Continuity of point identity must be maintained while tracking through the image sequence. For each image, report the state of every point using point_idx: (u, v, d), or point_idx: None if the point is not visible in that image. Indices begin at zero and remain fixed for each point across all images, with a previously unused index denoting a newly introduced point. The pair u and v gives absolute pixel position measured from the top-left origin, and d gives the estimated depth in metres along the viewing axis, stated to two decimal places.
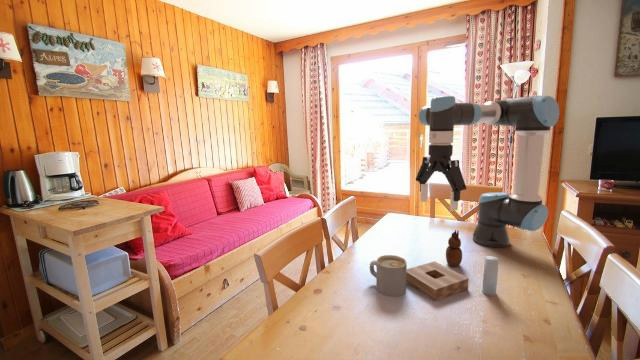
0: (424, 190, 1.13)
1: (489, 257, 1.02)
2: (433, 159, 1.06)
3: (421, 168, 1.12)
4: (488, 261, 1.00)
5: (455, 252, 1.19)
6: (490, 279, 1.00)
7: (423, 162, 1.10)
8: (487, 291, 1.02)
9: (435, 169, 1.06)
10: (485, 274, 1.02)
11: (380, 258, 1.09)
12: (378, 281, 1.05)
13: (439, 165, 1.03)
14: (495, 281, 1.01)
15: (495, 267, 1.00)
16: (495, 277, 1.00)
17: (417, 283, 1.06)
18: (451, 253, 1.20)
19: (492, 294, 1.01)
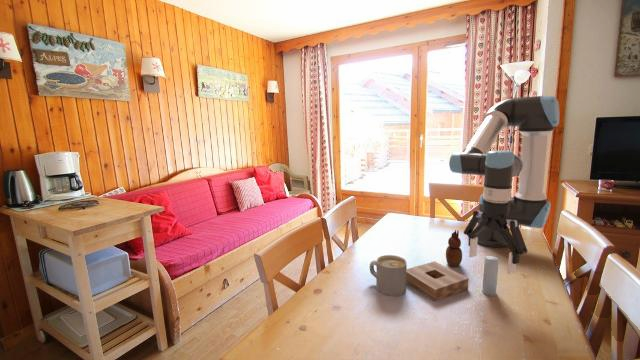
0: (474, 245, 1.06)
1: (489, 257, 1.02)
2: (487, 215, 1.00)
3: (471, 222, 1.05)
4: (488, 261, 1.00)
5: (455, 252, 1.19)
6: (490, 279, 1.00)
7: (474, 216, 1.04)
8: (487, 291, 1.02)
9: (489, 226, 0.99)
10: (485, 274, 1.02)
11: (380, 258, 1.09)
12: (378, 281, 1.05)
13: (495, 223, 0.96)
14: (495, 281, 1.01)
15: (495, 267, 1.00)
16: (495, 277, 1.00)
17: (417, 283, 1.06)
18: (451, 253, 1.20)
19: (492, 294, 1.01)
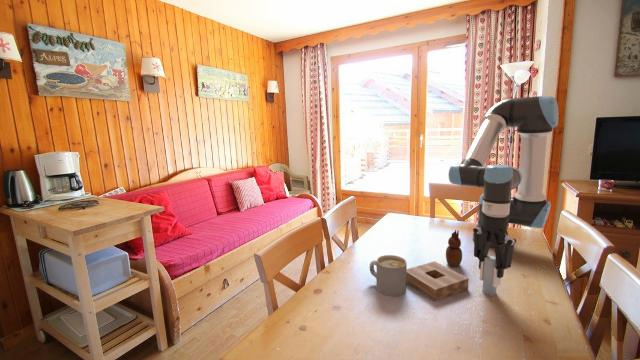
0: None
1: (489, 257, 1.02)
2: (485, 227, 1.01)
3: (476, 241, 1.04)
4: (488, 261, 1.00)
5: (455, 252, 1.19)
6: (490, 278, 1.00)
7: (475, 234, 1.04)
8: (487, 291, 1.02)
9: (488, 239, 1.00)
10: (485, 274, 1.02)
11: (380, 258, 1.09)
12: (378, 281, 1.05)
13: (493, 237, 0.97)
14: None
15: None
16: None
17: (417, 283, 1.06)
18: (451, 253, 1.20)
19: (492, 294, 1.01)
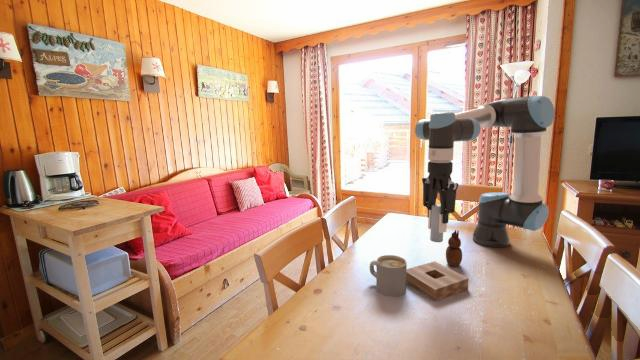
0: None
1: (436, 205, 1.04)
2: (431, 174, 1.03)
3: (424, 190, 1.07)
4: (434, 208, 1.03)
5: (455, 252, 1.19)
6: (436, 225, 1.03)
7: (424, 183, 1.07)
8: (434, 238, 1.04)
9: (434, 187, 1.03)
10: (432, 221, 1.04)
11: (380, 258, 1.09)
12: (378, 281, 1.05)
13: (438, 183, 1.00)
14: None
15: None
16: None
17: (417, 283, 1.06)
18: (451, 253, 1.20)
19: (438, 241, 1.04)
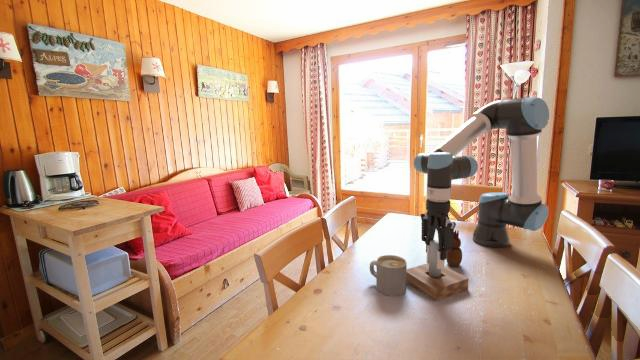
0: None
1: (434, 241, 1.07)
2: (430, 211, 1.06)
3: (423, 226, 1.09)
4: (432, 244, 1.05)
5: (455, 252, 1.19)
6: (434, 261, 1.05)
7: (422, 219, 1.09)
8: (432, 273, 1.07)
9: (432, 223, 1.05)
10: (430, 257, 1.06)
11: (380, 258, 1.09)
12: (378, 281, 1.05)
13: (436, 221, 1.02)
14: None
15: None
16: None
17: (417, 283, 1.06)
18: (451, 253, 1.20)
19: (436, 276, 1.06)
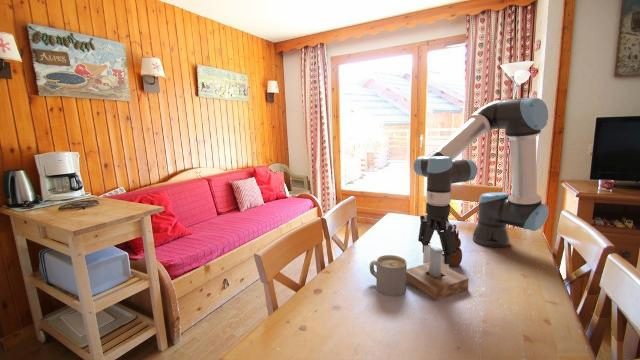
0: (427, 252, 1.10)
1: (434, 248, 1.07)
2: (430, 216, 1.06)
3: (421, 227, 1.10)
4: (432, 252, 1.05)
5: None
6: (434, 268, 1.06)
7: (421, 221, 1.10)
8: None
9: (432, 227, 1.05)
10: (430, 264, 1.07)
11: (380, 258, 1.09)
12: (378, 281, 1.05)
13: (436, 225, 1.03)
14: (439, 271, 1.06)
15: (439, 258, 1.05)
16: (439, 267, 1.06)
17: (417, 283, 1.06)
18: None
19: None
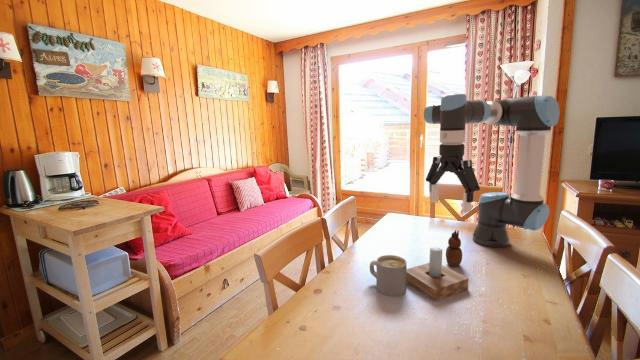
0: (435, 191, 1.10)
1: (434, 248, 1.07)
2: (444, 159, 1.03)
3: (431, 168, 1.09)
4: (432, 252, 1.05)
5: (455, 252, 1.19)
6: (434, 268, 1.06)
7: (433, 162, 1.07)
8: None
9: (446, 169, 1.03)
10: (430, 264, 1.07)
11: (380, 258, 1.09)
12: (378, 281, 1.05)
13: (451, 165, 1.00)
14: (439, 271, 1.06)
15: (439, 258, 1.05)
16: (439, 267, 1.06)
17: (417, 283, 1.06)
18: (451, 253, 1.20)
19: None
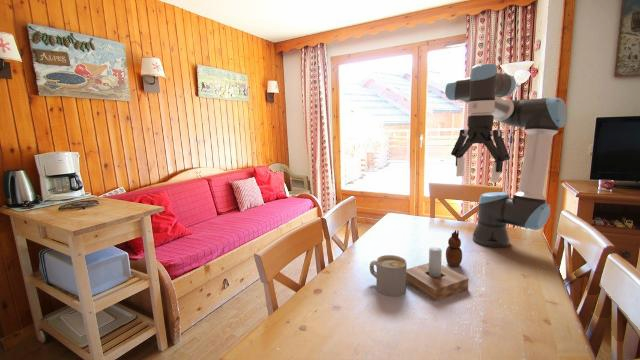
0: (460, 164, 1.10)
1: (433, 248, 1.07)
2: (472, 131, 1.04)
3: (458, 141, 1.09)
4: (431, 252, 1.05)
5: (455, 252, 1.19)
6: (434, 268, 1.06)
7: (460, 135, 1.08)
8: None
9: (474, 141, 1.03)
10: (429, 264, 1.07)
11: (380, 258, 1.09)
12: (378, 281, 1.05)
13: (480, 136, 1.00)
14: (438, 271, 1.06)
15: (438, 258, 1.05)
16: (438, 267, 1.06)
17: (417, 283, 1.06)
18: (451, 253, 1.20)
19: None
